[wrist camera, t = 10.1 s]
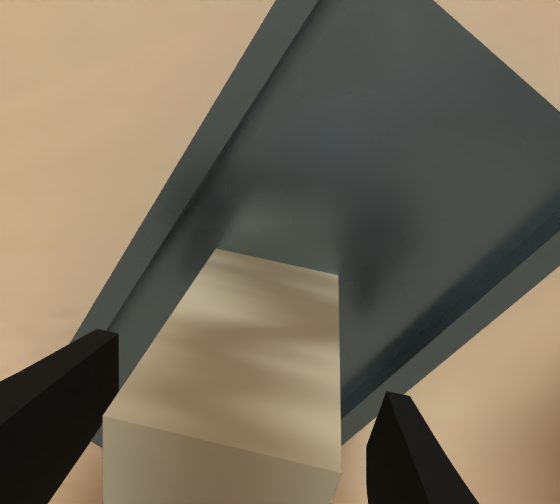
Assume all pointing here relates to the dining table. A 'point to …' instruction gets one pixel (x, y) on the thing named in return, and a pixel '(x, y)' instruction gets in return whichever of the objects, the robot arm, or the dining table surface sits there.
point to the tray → (359, 189)
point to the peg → (233, 393)
